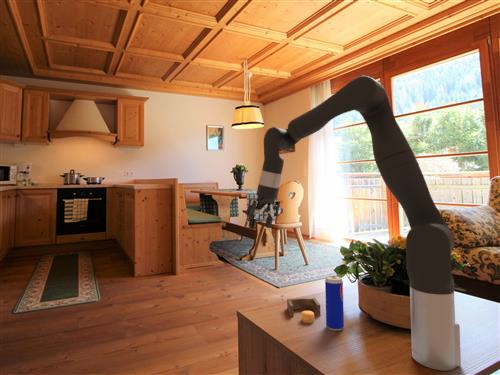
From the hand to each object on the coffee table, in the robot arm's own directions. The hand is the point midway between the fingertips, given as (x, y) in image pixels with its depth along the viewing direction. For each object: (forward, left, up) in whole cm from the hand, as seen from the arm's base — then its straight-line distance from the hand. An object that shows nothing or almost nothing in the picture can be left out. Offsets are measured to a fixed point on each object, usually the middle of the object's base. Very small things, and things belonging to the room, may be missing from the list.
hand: (259, 227), depth 109 cm
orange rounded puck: (-14, +13, -29) cm, 34 cm away
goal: (-14, +6, -29) cm, 32 cm away
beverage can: (-21, +18, -29) cm, 40 cm away
